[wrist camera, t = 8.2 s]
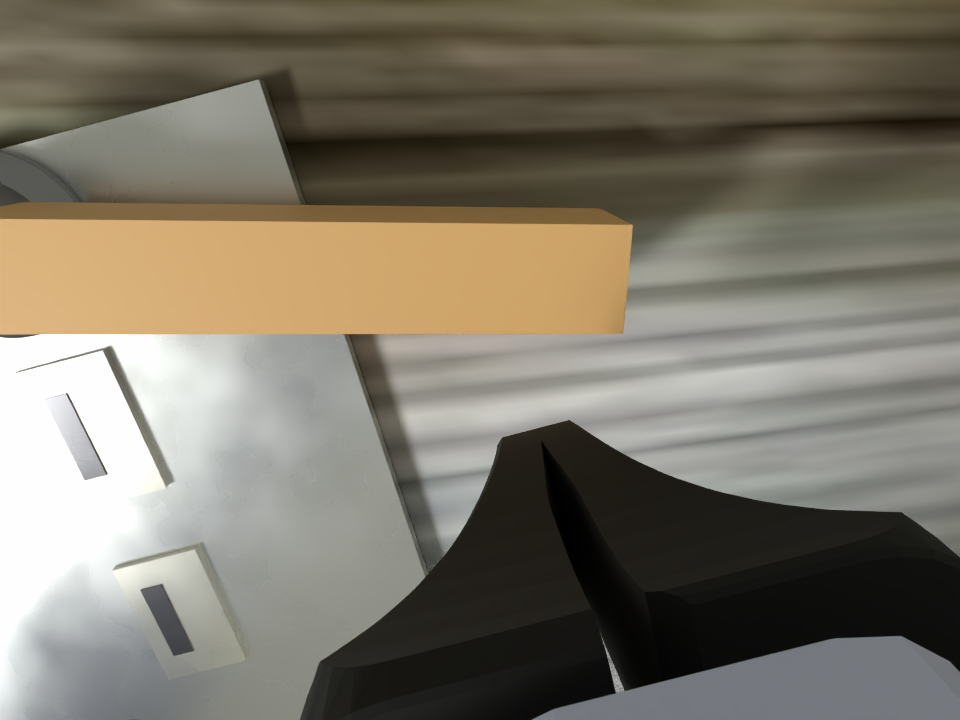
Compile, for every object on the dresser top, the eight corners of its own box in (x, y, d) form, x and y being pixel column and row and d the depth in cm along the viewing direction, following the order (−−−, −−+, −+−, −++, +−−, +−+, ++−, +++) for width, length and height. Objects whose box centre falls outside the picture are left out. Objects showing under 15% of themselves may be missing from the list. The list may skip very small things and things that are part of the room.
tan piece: (599, 185, 16) (638, 199, 13) (590, 318, 17) (623, 360, 14) (-108, 176, 15) (-246, 188, 12) (-72, 317, 16) (-190, 363, 13)
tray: (460, 669, 22) (461, 694, 21) (42, 774, 22) (25, 803, 21) (261, 72, 16) (251, 69, 15) (-308, 225, 16) (-354, 232, 15)
